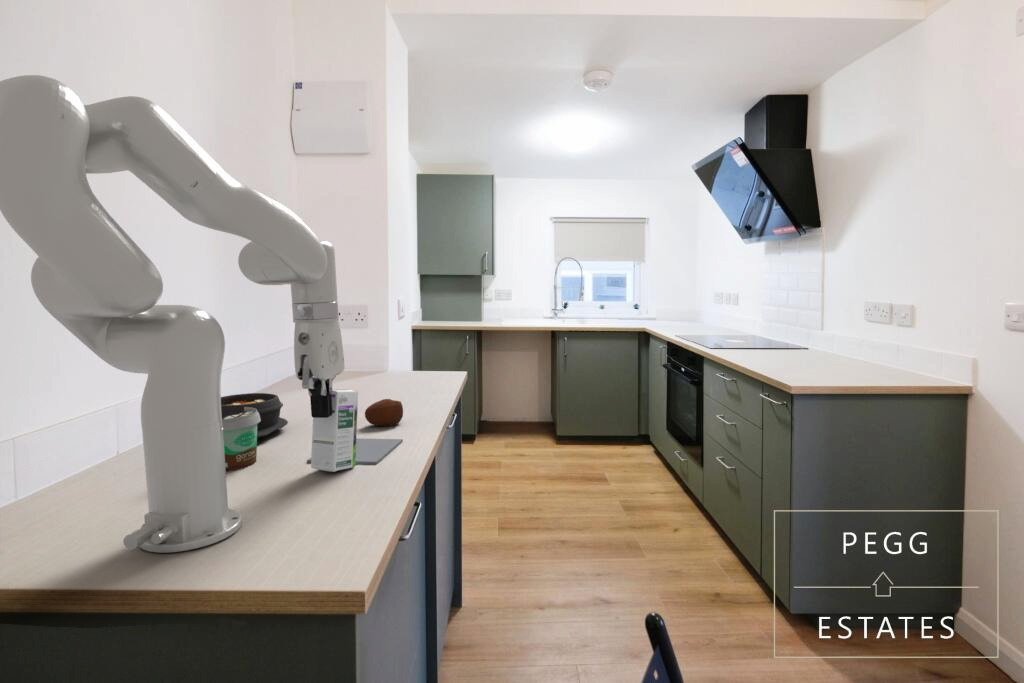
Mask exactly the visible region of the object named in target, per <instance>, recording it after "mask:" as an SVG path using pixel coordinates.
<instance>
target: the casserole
mask: <svg viewBox="0 0 1024 683" xmlns="http://www.w3.org/2000/svg"><path fill="white" fill-rule="evenodd" d="M283 406H284V403H282V401H281V400H280V397H279V395H276V394H272V393H268V392H267V393H265V392H252V393H249V392H248V393H240V394H239V393H238V394H230V395H224V396H221V412H222V418H223V417H225V416H228V415H236V414H239V413H241V412H244V407H251V408H255V409H257V412H259V415H260V419H261V421H260V422H259V423H257V439H258V438H259V439H260V438H263V437H266V436H268V435H270V434H272V433H273V432H275V431H278V430H279V429H282V428H284V427H285V426H287V425H288V424H289V421H288V420H287V419H286V418H283V417H280V414H281V409H282V407H283Z"/></svg>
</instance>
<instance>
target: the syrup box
mask: <svg viewBox="0 0 1024 683" xmlns="http://www.w3.org/2000/svg"><path fill="white" fill-rule="evenodd" d="M329 394H331V395H332V412H333V414H332V415H331V416H329V417H328V418H313V417H312V432H311V457H310V458H311V463H310V467H311V468H312V469H314V470H320V471H324V472H333V473H335V472H337V471H343V470H347V469H352V468H355V467H356V464H355V459H356V438H357V433H358V430H357V428H358V406H359V405H358V403H359V390H356V389H355V390H354V389H350V388H347V389H346V388H340V389H339V388H337V389H336V388H335V389H334V388H332V393H329Z"/></svg>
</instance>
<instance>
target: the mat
mask: <svg viewBox="0 0 1024 683" xmlns="http://www.w3.org/2000/svg"><path fill="white" fill-rule="evenodd" d="M403 441H404V440H403V439H402V438H401V439H400V438H358V437H356V459H355V465H378V464H379V463H380V462H381V461H383V460H384V459H385V458H386V457H387V456H388V455H390V453H391V452H393V451H394V450H395V449H396V448H398V446H400V445H401V444H402V443H403ZM306 463H308V464H311V457H310V458H308V459H306Z"/></svg>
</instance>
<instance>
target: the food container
mask: <svg viewBox="0 0 1024 683" xmlns="http://www.w3.org/2000/svg"><path fill="white" fill-rule="evenodd" d="M260 421H261V419H260V415H259V412H257V409H255V408H251V407H244V412H241V413H239V414H236V415H228V416H225V417H223V418H222V424H223V439H224V454H225V469H226V472H231V470H232V471H237V469H238V470H241V468H242V469H245V467H246V468H249V467H251V466H253V465H255V464H256V463H255V462H257V455H258V454H257V446H258V438H257V423H259V422H260ZM254 463H255V464H254ZM248 466H249V467H248Z"/></svg>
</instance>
